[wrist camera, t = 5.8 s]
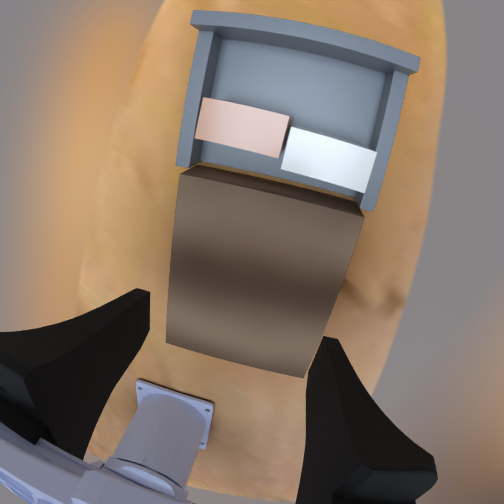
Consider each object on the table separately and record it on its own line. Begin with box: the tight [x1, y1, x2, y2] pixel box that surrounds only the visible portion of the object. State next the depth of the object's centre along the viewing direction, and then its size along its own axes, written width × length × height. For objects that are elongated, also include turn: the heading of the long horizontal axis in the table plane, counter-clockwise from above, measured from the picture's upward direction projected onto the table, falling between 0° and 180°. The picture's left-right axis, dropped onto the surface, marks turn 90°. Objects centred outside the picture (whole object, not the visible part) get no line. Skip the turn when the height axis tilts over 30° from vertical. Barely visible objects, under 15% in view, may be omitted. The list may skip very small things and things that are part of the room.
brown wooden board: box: [166, 165, 365, 378], centre depth 20 cm, size 12×10×3 cm
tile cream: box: [281, 125, 377, 193], centre depth 16 cm, size 4×4×2 cm
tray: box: [176, 10, 420, 212], centre depth 15 cm, size 8×11×4 cm
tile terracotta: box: [195, 97, 293, 158], centre depth 16 cm, size 4×4×2 cm
